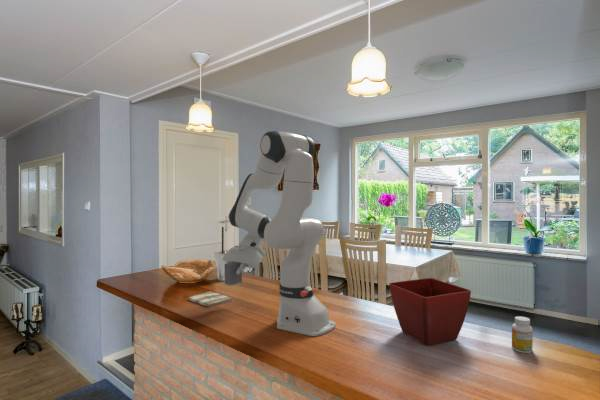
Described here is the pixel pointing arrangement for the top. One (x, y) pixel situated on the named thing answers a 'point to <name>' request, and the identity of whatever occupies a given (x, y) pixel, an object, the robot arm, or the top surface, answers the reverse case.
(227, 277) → the block
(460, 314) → the plant pot
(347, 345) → the top surface
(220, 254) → the toilet brush holder
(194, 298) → the board
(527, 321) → the supplement bottle
